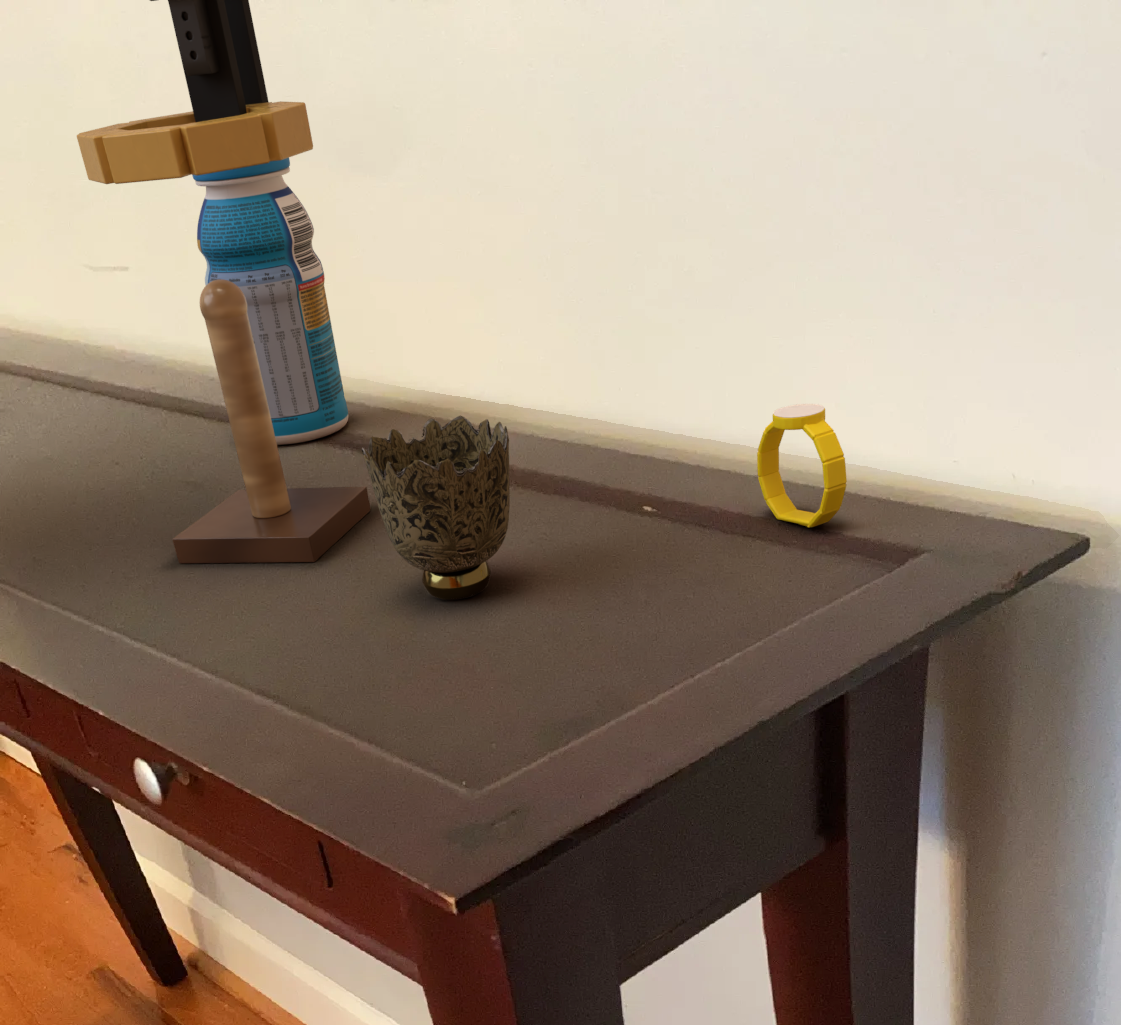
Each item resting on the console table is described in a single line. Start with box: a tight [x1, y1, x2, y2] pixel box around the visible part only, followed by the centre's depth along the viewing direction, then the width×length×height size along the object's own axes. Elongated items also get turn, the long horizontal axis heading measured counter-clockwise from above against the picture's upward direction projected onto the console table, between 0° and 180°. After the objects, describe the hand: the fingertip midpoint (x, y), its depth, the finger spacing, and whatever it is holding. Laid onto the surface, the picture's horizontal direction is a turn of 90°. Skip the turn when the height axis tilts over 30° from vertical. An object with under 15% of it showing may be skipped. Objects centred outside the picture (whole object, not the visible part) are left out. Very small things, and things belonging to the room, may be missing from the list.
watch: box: [756, 403, 848, 528], centre depth 74 cm, size 6×3×6 cm, turn 32°
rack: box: [172, 279, 372, 564], centre depth 80 cm, size 9×9×14 cm
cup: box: [361, 415, 511, 601], centre depth 71 cm, size 8×7×8 cm
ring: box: [76, 101, 314, 185], centre depth 69 cm, size 11×11×2 cm
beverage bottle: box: [191, 157, 350, 446], centre depth 98 cm, size 8×8×20 cm
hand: (239, 144), depth 73 cm, fingers closed on ring, 2 cm apart
